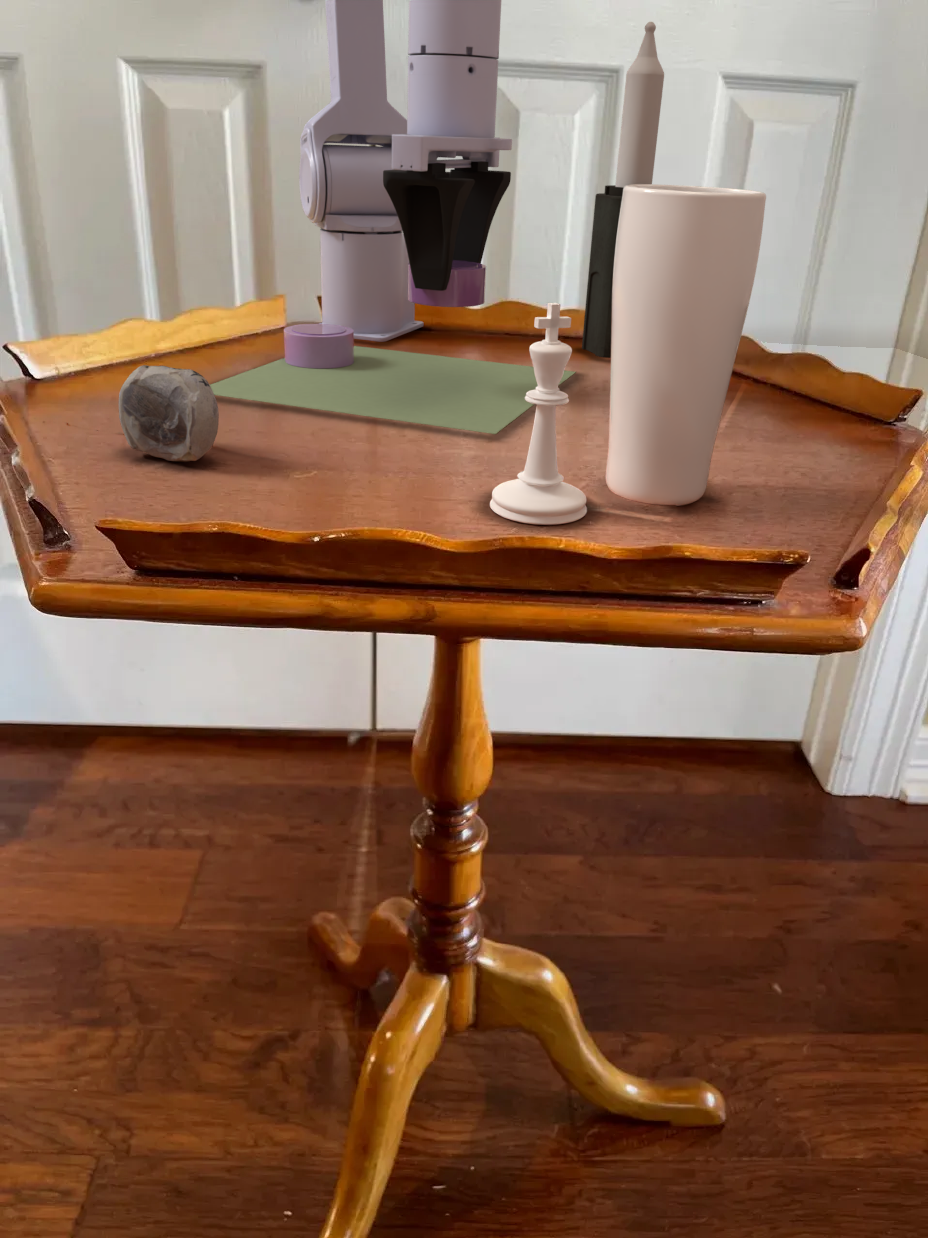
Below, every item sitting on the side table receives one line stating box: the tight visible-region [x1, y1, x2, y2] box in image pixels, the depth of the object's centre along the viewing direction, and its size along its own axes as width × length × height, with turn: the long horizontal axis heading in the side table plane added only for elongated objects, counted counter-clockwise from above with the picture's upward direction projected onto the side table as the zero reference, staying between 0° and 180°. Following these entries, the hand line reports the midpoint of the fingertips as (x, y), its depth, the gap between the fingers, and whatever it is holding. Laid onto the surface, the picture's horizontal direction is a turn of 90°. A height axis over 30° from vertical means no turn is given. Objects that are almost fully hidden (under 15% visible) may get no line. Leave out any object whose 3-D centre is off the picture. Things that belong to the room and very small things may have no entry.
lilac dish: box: [283, 323, 355, 369], centre depth 77 cm, size 5×5×2 cm
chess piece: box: [489, 302, 588, 526], centre depth 48 cm, size 5×5×10 cm
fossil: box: [118, 364, 220, 462], centre depth 54 cm, size 6×3×5 cm, turn 68°
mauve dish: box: [407, 260, 487, 308], centre depth 68 cm, size 5×5×2 cm
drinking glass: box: [604, 183, 767, 507], centre depth 50 cm, size 7×7×15 cm
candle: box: [581, 21, 665, 359], centre depth 81 cm, size 5×5×25 cm
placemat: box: [209, 345, 577, 435], centre depth 73 cm, size 20×22×1 cm
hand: (446, 283), depth 68 cm, fingers closed on mauve dish, 5 cm apart
